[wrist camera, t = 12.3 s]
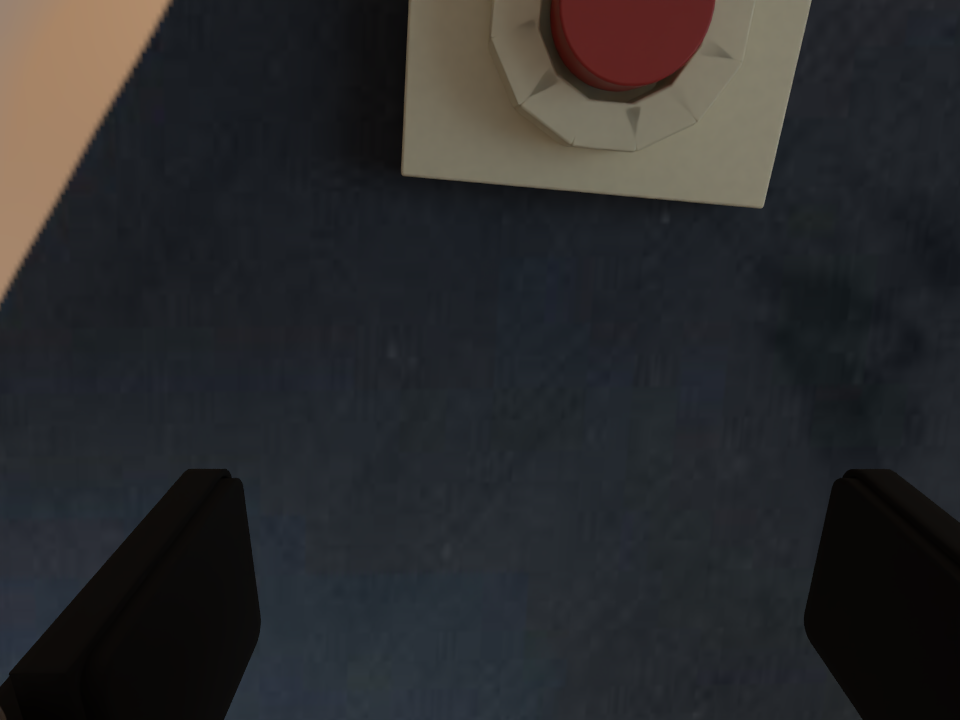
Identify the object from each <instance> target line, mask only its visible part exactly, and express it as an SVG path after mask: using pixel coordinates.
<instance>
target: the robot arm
mask: <svg viewBox="0 0 960 720" xmlns="http://www.w3.org/2000/svg"><path fill="white" fill-rule="evenodd" d="M260 625H261V618H260V609H259V602H258V594H257V587H256V579H255V572H254V564H253V557H252V549H251V542H250V534H249V527H248V519H247V512H246V504H245V497H244V489H243V484H242V482H241V480H240V479H239V478H232V477H231V474H230V472H229V471H228V470H227V469H188V470H187V471H185V472H184V473H183V474H182V476H181V477H180V478H179V479H178V480H177V481H176V482H175V484H174V485H173V486H172V487H171V488H170V489H169V490H168V492H167V493H166V494H165V495H164V496H163V497H162V498H161V500H160V501H159V502H158V503H157V504H156V505H155V506H154V508H153V509H152V510H151V511H150V512H149V513H148V514H147V516H146V517H145V518H144V519H143V520H142V521H141V523H140V524H139V525H138V526H137V527H136V528H135V529H134V531H133V532H132V533H131V534H130V535H129V536H128V537H127V539H126V540H125V541H124V542H123V543H122V544H121V545H120V547H119V548H118V549H117V550H116V551H115V552H114V553H113V555H112V556H111V557H110V558H109V559H108V560H107V562H106V563H105V564H104V565H103V566H102V567H101V568H100V570H99V571H98V572H97V573H96V574H95V575H94V576H93V578H92V579H91V580H90V581H89V582H88V583H87V584H86V586H85V587H84V588H83V589H82V590H81V591H80V592H79V594H78V595H77V596H76V597H75V598H74V599H73V600H72V602H71V603H70V604H69V605H68V606H67V607H66V609H65V610H64V611H63V612H62V613H61V614H60V615H59V617H58V618H57V619H56V620H55V621H54V622H53V623H52V625H51V626H50V627H49V628H48V629H47V630H46V631H45V633H44V634H43V635H42V636H41V637H40V638H39V639H38V641H37V642H36V643H35V644H34V645H33V646H32V647H31V649H30V650H29V651H28V652H27V653H26V654H25V656H24V657H23V658H22V659H21V660H20V661H19V662H18V664H17V665H16V666H15V667H14V668H13V669H12V670H11V672H10V673H9V675H10V676H9V677H8V679H7V680H6V681H5V682H4V683H3V684H2V685H1V687H0V720H224V718H225V716H226V714H227V711H228V709H229V707H230V704H231V702H232V700H233V697H234V695H235V693H236V690H237V688H238V686H239V683H240V681H241V679H242V676H243V674H244V672H245V669H246V667H247V665H248V662H249V660H250V658H251V655H252V653H253V651H254V648H255V646H256V644H257V641H258V637H259V633H260ZM804 626H805V631H806V634H807V636H808V639H809V640H810V642H811V644H812V645H813V647H814V648H815V650H816V651H817V653H818V654H819V655H820V657H821V658H822V660H823V661H824V663H825V664H826V666H827V667H828V669H829V670H830V672H831V673H832V675H833V676H834V678H835V679H836V681H837V682H838V684H839V685H840V686H841V688H842V689H843V691H844V692H845V694H846V695H847V697H848V698H849V700H850V701H851V703H852V704H853V706H854V707H855V709H856V710H857V712H858V713H859V715H860V716H861V718H862V719H863V720H960V523H959V522H958V521H957V520H956V519H954V518H953V517H952V516H950V515H949V514H948V513H947V512H945V511H944V510H943V509H942V508H940V507H939V506H938V505H936V504H935V503H934V502H933V501H931V500H930V499H929V498H927V497H926V496H925V495H924V494H922V493H921V492H920V491H918V490H917V489H916V488H915V487H913V486H912V485H911V484H909V483H908V482H907V481H906V480H904V479H903V478H902V477H900V476H899V475H898V474H897V473H895V472H893V471H892V470H889V469H851V470H849V471H847V472H846V473H845V474H844V475H843V478H839V479H837V480H836V481H835V482H834V484H833V486H832V490H831V495H830V499H829V504H828V508H827V513H826V518H825V522H824V527H823V531H822V536H821V540H820V545H819V550H818V554H817V559H816V563H815V568H814V573H813V577H812V582H811V586H810V591H809V595H808V600H807V605H806V609H805V614H804Z"/></svg>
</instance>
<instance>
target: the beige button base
mask: <svg viewBox="0 0 960 720" xmlns="http://www.w3.org/2000/svg"><path fill="white" fill-rule="evenodd" d="M551 1H552V0H409V7H408V29H407V51H406V73H405V95H404V117H403V139H402V161H401V174H402V175H403V176H409V177H420V178H431V179H442V180H453V181H464V182H475V183H486V184H497V185H508V186H519V187H530V188H540V189H551V190H562V191H573V192H584V193H595V194H606V195H617V196H628V197H639V198H650V199H661V200H672V201H683V202H694V203H705V204H716V205H727V206H738V207H749V208H763V206H764V203H765V198H766V194H767V190H768V185H769V181H770V177H771V172H772V168H773V164H774V160H775V155H776V151H777V147H778V142H779V138H780V134H781V129H782V125H783V121H784V117H785V112H786V108H787V104H788V99H789V95H790V91H791V86H792V82H793V78H794V74H795V69H796V65H797V61H798V56H799V52H800V48H801V43H802V39H803V35H804V31H805V26H806V22H807V18H808V13H809V9H810V5H811V0H716V1H715V8H714V13H713V17H712V21H711V23H710V26H709V29H708V32H707V34H706V36H705V38H704V40H703V42H702V43H701V45H700V46H699V48H698V49H697V51H696V52H695V53H694V55H693V56H692V57H691V58H690V59H689V60H688V61H687V62H686V63H685V64H684V65H683V66H682V67H681V68H680V69H678V70H677V71H676V72H674V73H673V74H672V75H670V76H668V77H666V78H665V79H663V80H660V81H658V82H655V83H652V84H649V85H646V86H643V87H639V88H636V89H632V90H628V91H620V92H615V91H605V90H600V89H597V88H594V87H592V86H590V85H587V84H585V83H584V82H582V81H581V80H579V79H578V78H577V77H576V76H575V75H573V74H572V73H571V72H570V71H569V69H568V68H567V67H566V66H565V64H564V63H563V61H562V60H561V58H560V56H559V54H558V52H557V50H556V48H555V45H554V41H553V38H552V33H551V27H550V7H551Z"/></svg>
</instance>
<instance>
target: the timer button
mask: <svg viewBox="0 0 960 720" xmlns="http://www.w3.org/2000/svg"><path fill="white" fill-rule="evenodd" d="M715 1H716V0H552V1H551V7H550V27H551V33H552V38H553V41H554V45H555V48H556V50H557V52H558V54H559V56H560V58H561V60H562V61H563V63H564V64H565V66H566V67H567V68H568V69H569V71H570V72H571V73H572V74H573V75H575V76H576V77H577V78H578V79H579V80H581V81H582V82H584V83H585V84H587V85H590V86H592V87H594V88H597V89H600V90H605V91H615V92H620V91H628V90H632V89H636V88H639V87H643V86H646V85H649V84H652V83H655V82H658V81H660V80H663V79H665V78H666V77H668V76H670V75H672V74H673V73H674V72H676V71H677V70H678V69H680V68H681V67H682V66H683V65H684V64H685V63H686V62H687V61H688V60H689V59H690V58H691V57H692V56H693V55H694V53H695V52H696V51H697V49H698V48H699V46H700V45H701V43H702V42H703V40H704V38H705V36H706V34H707V32H708V29H709V26H710V23H711V21H712V17H713V13H714V8H715Z"/></svg>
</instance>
